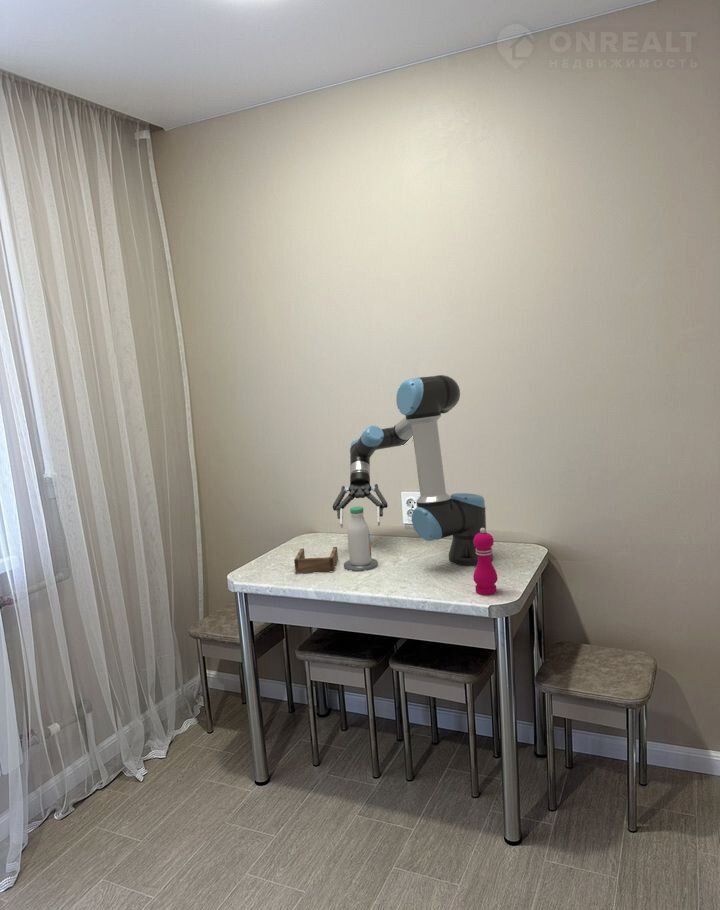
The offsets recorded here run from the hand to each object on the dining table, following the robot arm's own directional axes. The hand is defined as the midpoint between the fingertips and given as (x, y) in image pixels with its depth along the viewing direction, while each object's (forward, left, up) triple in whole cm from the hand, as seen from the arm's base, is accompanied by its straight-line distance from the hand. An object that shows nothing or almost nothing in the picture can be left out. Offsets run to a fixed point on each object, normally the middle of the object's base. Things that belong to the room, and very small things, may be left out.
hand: (360, 524), depth 255 cm
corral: (+1, +18, -12) cm, 22 cm away
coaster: (-8, +5, -12) cm, 16 cm away
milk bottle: (-8, +5, -12) cm, 15 cm away
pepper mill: (-55, -15, -13) cm, 59 cm away
